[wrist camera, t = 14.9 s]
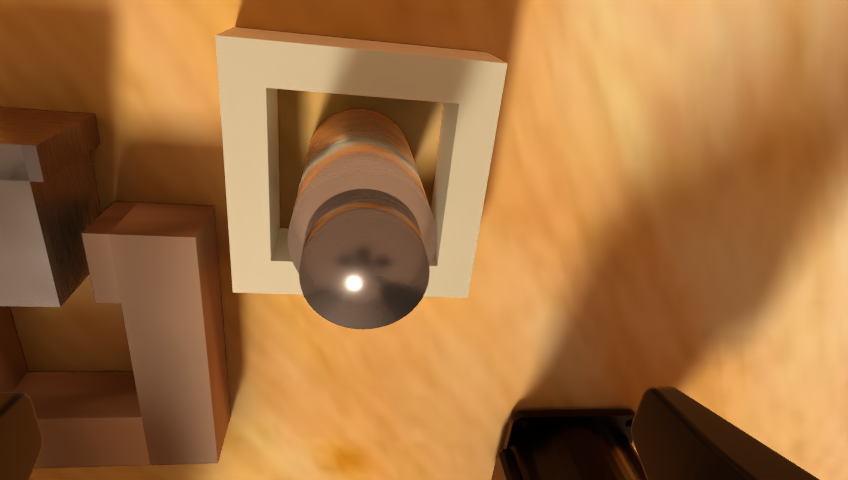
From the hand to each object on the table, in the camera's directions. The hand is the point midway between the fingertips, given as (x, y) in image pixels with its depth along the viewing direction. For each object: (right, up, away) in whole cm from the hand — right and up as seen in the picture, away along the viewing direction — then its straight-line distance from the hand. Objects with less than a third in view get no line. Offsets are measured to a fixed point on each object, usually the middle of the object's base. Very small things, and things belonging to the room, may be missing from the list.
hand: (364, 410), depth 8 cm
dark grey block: (-11, +4, +10) cm, 16 cm away
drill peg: (-1, +5, +11) cm, 12 cm away
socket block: (-12, -1, +12) cm, 17 cm away
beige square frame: (-1, +5, +11) cm, 12 cm away
